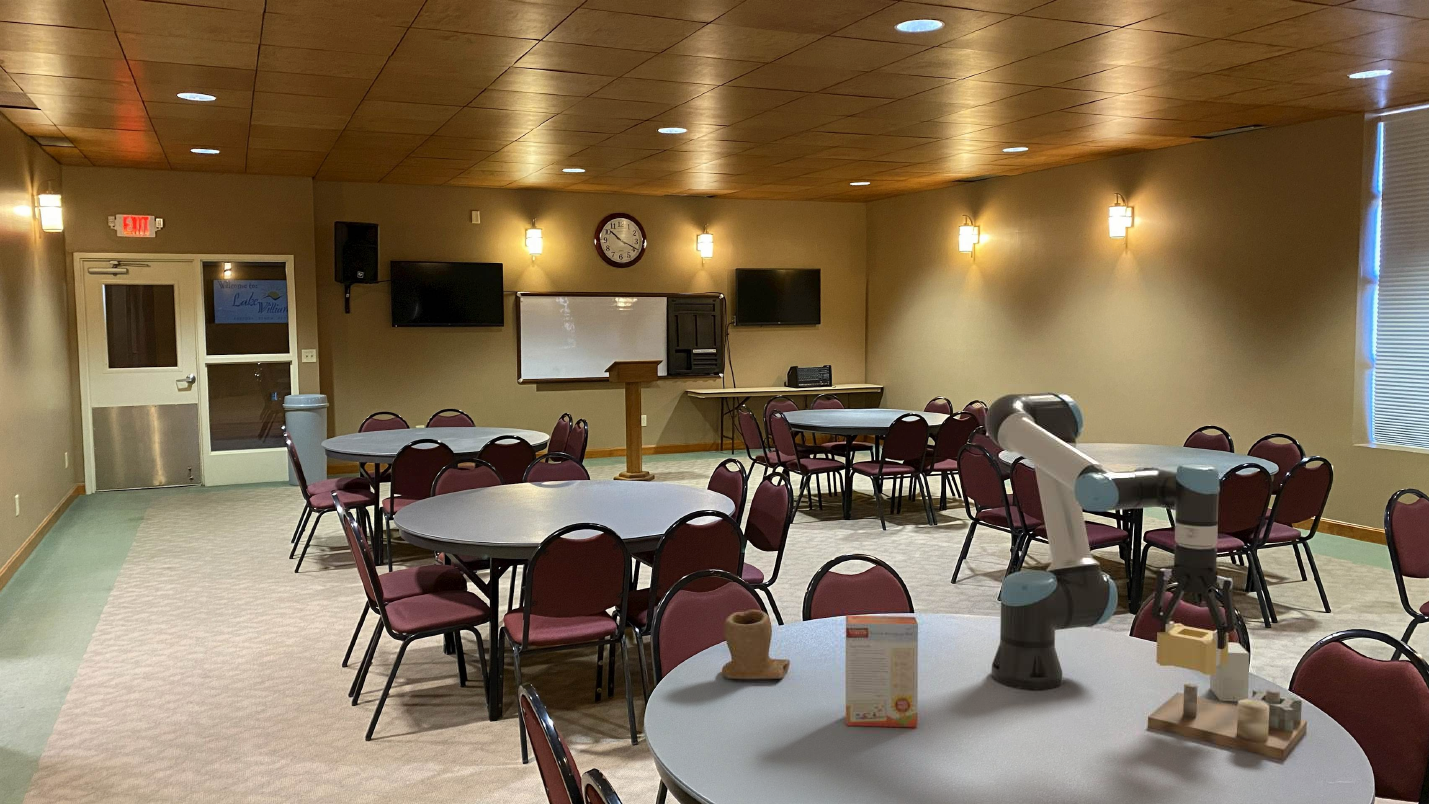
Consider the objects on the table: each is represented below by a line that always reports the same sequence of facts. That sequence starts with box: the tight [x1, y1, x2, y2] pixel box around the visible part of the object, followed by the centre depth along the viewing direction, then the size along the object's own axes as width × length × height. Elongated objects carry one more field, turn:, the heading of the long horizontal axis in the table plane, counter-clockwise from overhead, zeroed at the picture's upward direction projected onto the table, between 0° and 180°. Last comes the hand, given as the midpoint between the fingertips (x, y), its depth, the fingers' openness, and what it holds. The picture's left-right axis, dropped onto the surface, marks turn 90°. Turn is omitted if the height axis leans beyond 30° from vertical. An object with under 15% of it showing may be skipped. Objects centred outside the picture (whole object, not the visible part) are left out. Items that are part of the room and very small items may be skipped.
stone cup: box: [721, 609, 791, 680], centre depth 234 cm, size 15×12×15 cm
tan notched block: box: [1156, 623, 1229, 676], centre depth 205 cm, size 11×11×6 cm
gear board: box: [1147, 683, 1308, 761], centre depth 204 cm, size 24×18×8 cm
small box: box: [1209, 641, 1250, 703], centre depth 222 cm, size 8×6×10 cm
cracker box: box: [845, 615, 919, 728], centre depth 207 cm, size 14×6×21 cm, turn 84°
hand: (1192, 659), depth 205 cm, fingers closed on tan notched block, 8 cm apart
